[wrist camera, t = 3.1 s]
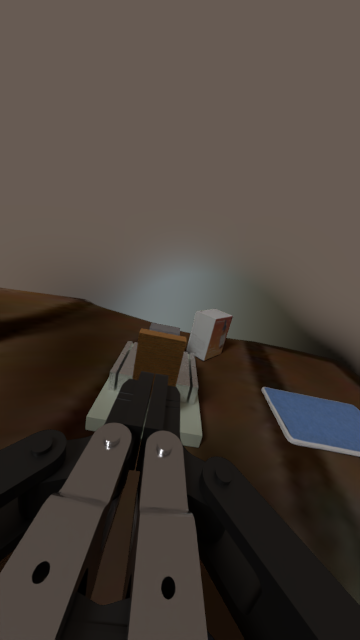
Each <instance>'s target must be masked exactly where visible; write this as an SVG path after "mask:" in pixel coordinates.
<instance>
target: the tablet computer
mask: <svg viewBox="0 0 360 640" xmlns="http://www.w3.org/2000/svg"><path fill="white" fill-rule="evenodd" d="M261 390H262V392H263V394H264V395H265V398H266V400H267V402H268V404H269V406H270V408H271V410H272V412H273V414H274V416H275V417H276V419H277V421H278V423H279V425H280V427H281V429H282V431H283V433H284V435H285V437H286V439H287V440H288V441H289V442H290V443H292V444H295V445H299V446H305V447H311V448H317V449H322V450H328V451H333V452H338V453H343V454H348V455H353V456H358V457H360V411H359V410H358V409H357V408H356V407H355V406H353V405H351V404H346V403H341V402H336V401H331V400H326V399H321V398H316V397H311V396H306V395H301V394H296V393H291V392H287V391H281V390H277V389H272V388H267V387H263V388H262V389H261Z"/></svg>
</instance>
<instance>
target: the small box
mask: <svg viewBox="0 0 360 640" xmlns="http://www.w3.org/2000/svg"><path fill="white" fill-rule="evenodd" d="M231 320H232V316H231V315H229V314H227V313H224V312H222V311H219V310H217V309H211V310H203V311H196V314H195V318H194V322H193V326H192V330H191V334H190V338H189V342H188V346H187V351H188V352H190V353H194V355H195V356H196V357H198V358H199V359H201V360H203V361H205V360H207V359H209V358H212V357H214V356H216V355H219V354H221V352H222V349H223V346H224V343H225V339H226V336H227V333H228V330H229V327H230V323H231Z"/></svg>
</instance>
